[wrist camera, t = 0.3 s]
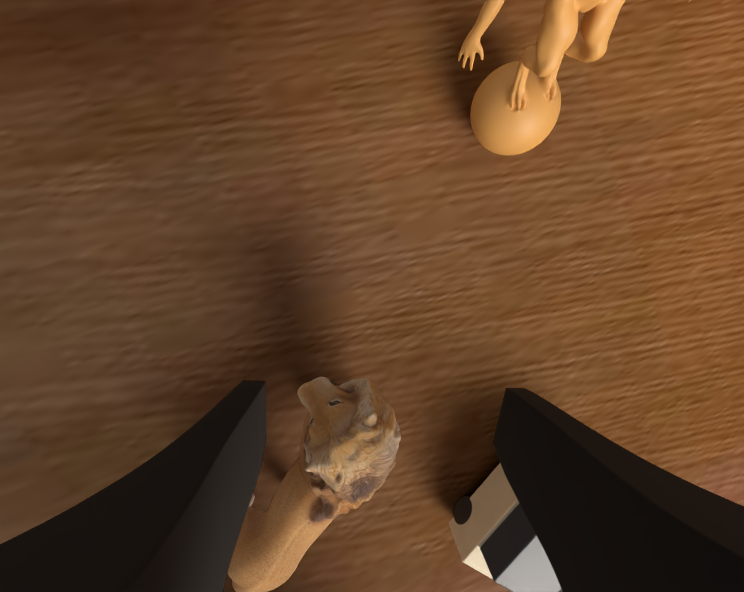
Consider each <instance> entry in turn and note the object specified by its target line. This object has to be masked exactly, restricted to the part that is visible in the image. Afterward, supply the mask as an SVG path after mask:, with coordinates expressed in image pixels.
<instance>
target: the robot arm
mask: <svg viewBox="0 0 744 592" xmlns="http://www.w3.org/2000/svg"><path fill="white" fill-rule="evenodd" d="M265 443H266V382H265V381H250V380H243V381H242V382H241V383H240V384H239V385H238V386H237V387H235V388H234V389H233V390H232V391H231V392H230V393H229V394H228V395H227V396H226V397H225V398H224V399H223V400H222V401H221V402H219V403H218V404H217V405H216V406H215V407H214V408H213V409H212V410H211V411H210V412H208V413H207V414H206V415H205V416H204V417H203V418H202V419H200V420H199V421H198V422H197V423H196V424H195V425H194V426H192V427H191V428H190V429H189V430H188V431H186V432H185V433H184V434H183V435H181V436H180V437H179V438H178V439H176V440H175V441H174V442H173V443H171V444H170V445H169V446H168V447H166V448H165V449H164V450H162V451H161V452H159V453H158V454H157V455H155V456H154V457H152V458H151V459H150V460H148V461H147V462H145V463H144V464H142V465H141V466H139V467H138V468H136V469H135V470H133V471H132V472H130V473H129V474H127V475H126V476H124V477H123V478H121V479H120V480H118V481H116V482H114V483H113V484H111V485H109V486H108V487H106V488H104V489H103V490H101V491H99V492H98V493H96V494H94V495H92V496H91V497H89V498H87V499H86V500H84V501H82V502H81V503H79V504H77V505H76V506H74V507H72V508H70V509H68V510H67V511H65V512H63V513H61V514H59V515H57V516H55V517H53V518H52V519H50V520H48V521H46V522H44V523H42V524H40V525H38V526H36V527H34V528H32V529H30V530H28V531H26V532H24V533H22V534H20V535H18V536H16V537H14V538H12V539H10V540H8V541H6V542H4V543H2V544H0V592H223V589H224V584H225V580H226V576H227V573H228V569H229V566H230V562H231V559H232V555H233V552H234V549H235V546H236V543H237V540H238V537H239V534H240V531H241V528H242V525H243V522H244V519H245V516H246V513H247V510H248V507H249V504H250V501H251V498H252V494H253V491H254V488H255V485H256V482H257V479H258V476H259V472H260V467H261V463H262V458H263V453H264V448H265ZM493 444H494V447H495V449H496V452H497V455H498V458H499V461H500V463H501V466H502V469H503V471H504V474H505V476H506V478H507V480H508V482H509V484H510V486H511V488H512V490H513V492H514V494H515V496H516V498H517V499H518V501H519V503H520V505H521V507H522V509H523V511H524V513H525V515H526V517H527V518H528V520H529V522H530V524H531V526H532V528H533V530H534V532H535V534H536V536H537V538H538V539H539V541H540V543H541V545H542V547H543V549H544V551H545V553H546V555H547V557H548V559H549V561H550V563H551V565H552V568H553V570H554V572H555V575H556V577H557V579H558V582H559V584H560V587H561V589H562V591H563V592H744V506H741V505H739V504H737V503H734V502H732V501H730V500H728V499H725V498H723V497H721V496H718V495H716V494H714V493H712V492H709V491H707V490H705V489H703V488H700V487H698V486H696V485H694V484H692V483H690V482H688V481H685V480H683V479H681V478H679V477H677V476H675V475H673V474H671V473H669V472H667V471H665V470H663V469H661V468H659V467H657V466H656V465H654V464H652V463H650V462H648V461H646V460H644V459H642V458H640V457H639V456H637V455H635V454H633V453H631V452H630V451H628V450H626V449H624V448H623V447H621V446H619V445H617V444H616V443H614V442H612V441H611V440H609V439H607V438H606V437H604V436H602V435H601V434H599V433H597V432H596V431H594V430H592V429H591V428H589V427H588V426H586V425H584V424H583V423H581V422H580V421H578V420H576V419H575V418H573V417H572V416H570V415H569V414H567V413H565V412H564V411H562V410H561V409H559V408H558V407H556V406H554V405H553V404H551V403H550V402H548V401H546V400H545V399H543V398H541V397H540V396H538V395H536V394H535V393H533V392H531V391H529V390H527V389H525V388H506V390H505V395H504V399H503V403H502V407H501V411H500V415H499V419H498V424H497V428H496V432H495V436H494V440H493Z"/></svg>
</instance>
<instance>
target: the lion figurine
mask: <svg viewBox="0 0 744 592" xmlns="http://www.w3.org/2000/svg"><path fill="white" fill-rule="evenodd" d="M298 396H299V398H300V401H301V402H302V404H303V405H304V406H305V407H306V408H307V410H308V411H309V413H308V414H307V416H306V419H305V421H304V425H303V436H302V440H301V447H300V457H299V458H298V459H297V460H296V461H295V463H294V464H293V465H292V467H291V468H290V469H289V471H288V473H287V474H286V476H285V477H284V479H283V480H282V482H281V484H280V485H279V487H278V488H277V490H276V492H275V494H274V496H273V499H272V501H271V504H270V507H269V508H268V510H267V511H266V512H261V511H259V510H257V509H255V508H253V507H250V506H251V505H252V503H253V501H254V497H255V495H254V494H252V498H251V501H250V504H249V507H248V510H247V513H246V516H245V519H244V522H243V525H242V528H241V531H240V534H239V537H238V540H237V543H236V546H235V549H234V552H233V555H232V559H231V562H230V566H229V569H228V575H229V577H230V578H231V579H232V586H233V588H234V590H235V591H236V592H268V591H270V590H273V589H275V588H277V587H279V586H280V585H282V584H283V583H284V582H286V581H287V580H288V579H289V578H290V576H291V575H292V574H293V572H294V571H295V569H296V567H297V565H298V563H299V562H300V560H301V558H302V557H303V555H304V554H305V552H306V551H307V549H308V548H309V547H310V546H311V545H312V543H313V542H314V541H315V540H316V539H317V538H318V536H319V535H320V534H321V533H322V532H323V531H324V529H325V528H326V527H327V526H328V525H329V524H330V523H331V521H332V520H333V519H335V518H337V517H338V515H339V514H347V513H348V512H349V510H350V509H351V508H352V509H356V508H358V507H359V506H360V505H361V504H362V502H363V501H369V500H370V499H371V497H372V495H373V494H374V492H375V491H376V490H378V489H379V488H380V487H381V486H382V484H383V483H384V482H385V480H386V477H387V476H388V475H389V473H390V471H391V470H392V469H393V467H394V466H395V463H396V461H395V458H396V452H397V451H398V448H399V442H400V440H401V435H400V433H399V425H398V423H397V422H396V419H395V413H394V409H393V407H392V406H391V404H390V403H389V402H388V401H387V400H386V399H385V398H384V396H383V395H382V394H381V392H380V391H379V390H378V389H377V388H376V386H375V384H374V383H373V382H371V381H370V380H369V379H367V378H359V379H357V380H355V379H352V380H351V381H349V382H346V383H344V384H341V385H340V386H338V385H337V384H336V383H334V382H333V381H331V380H330V379H328V378H326V377H318V378H316V379H314V380H312V381H309V382H306V383H304V384H303V385H302V386H300V387H299V389H298Z"/></svg>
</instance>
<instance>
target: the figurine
mask: <svg viewBox="0 0 744 592" xmlns="http://www.w3.org/2000/svg"><path fill="white" fill-rule="evenodd" d="M504 1H505V0H486V1H485V3H484V5H483V7H482V9H481V11H480V14H479V17H478V19H477V21H476V23H475V25H474V27H473V28H472V30H471V31H470V32H469V34H468V35H467V37H466V39H465V40H464V42H463V44H462V47H461V50H460V53H459V57H458V61H460V59H461V56H462V55H463V54H464V58H463V62H462V67H463V68H464V67H465V64H466V61H467V58H468V57H469V58H470V70H472V68H473V62H474V58H475V54H476V52H478V53H479V54H480V58H481V60H483V57H484V53H483V48H482V46H481V43H480V38H481V36H482V35H483V33H484V32H485V30H486V29H487V28H488V26H489V25H490V24H491V22H492V21H493V20H494V18H495V17H496V15H497V13H498V12H499V10H500V8H501V7H502V5H503V3H504ZM689 1H691V0H688V2H689ZM624 2H625V0H546V1H545V5H544V15H543V19H542V23H541V27H540V31H539V34H538V38H537V43H536V46H529V47H528V48H526V50H525V51H524V53H523V55H522V56H521V58H520V61H514V62H510V63H507V64H505V65H503V66H501V67H499V68H497V69H496V70H494V71H493V72H492V73H490V74H489V75H488V76H487V77H486V78H485V79H484V81H483V82H482V83H481V85H480V86H479V88H478V89H477V91H476V93H475V95H474V98H473V101H472V105H471V112H470V120H471V126H472V130H473V132H474V135H475V137H476V138H477V140H478V141H479V142H480V143H481V145H482V146H484V147H485V148H486V149H488V150H489V151H491V152H493V153H496V154H500V155H517V154H521V153H524V152H526V151H529V150H531V149H532V148H534V147H536V146H537V145H538V144H540V143H541V142H542V141H543V140H544V139H545V138H546V137H547V136H548V134H549V133H550V132H551V130H552V129H553V127H554V125H555V123H556V121H557V119H558V116H559V112H560V107H561V94H560V89H559V85H558V83H557V81H556V75H557V72H558V69H559V66H560V64H561V61H562V58H563V56H564V53H565V54H566V55H568V56H570V57H573V58H576V59H578V60H580V61H583V62H593V61H596V60H598V59H600V58H601V57H602V56H603V55H604V54H605V52H606V49H607V43H608V39H609V37H610V34H611V32H612V29H613V26H614V24H615V21H616V19H617V16H618V13H619V11H620V8H621V6H622V5H623V3H624ZM578 11H580V12H585V14H584V17H583V19H582V22H581V26H580V31H581V34H579V33H577V29H578Z"/></svg>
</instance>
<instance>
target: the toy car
mask: <svg viewBox="0 0 744 592" xmlns="http://www.w3.org/2000/svg"><path fill="white" fill-rule="evenodd" d="M449 526H450V529H451V532H452V535H453V537H454V540H455V543H456V546H457V548H458V551H459V554H460V557H461V560H462V562H463V563H465V564H467V565H469V566H470V567H472V568H474V569H476V570H477V571H479V572H481V573H483V574H484V575H486V576H488V577H490V578H491V579H493V580H494V581H495V582H496V583H498V584H500V585H501V586H503V587H505V588H507V589H508V590H510V591H512V592H559V591H560V590H561V587H560V584H559V582H558V579H557V577H556V575H555V572H554V570H553V568H552V565H551V563H550V561H549V559H548V557H547V555H546V553H545V551H544V549H543V547H542V545H541V543H540V541H539V539H538V538H537V536H536V534H535V532H534V530H533V528H532V526H531V524H530V522H529V520H528V518H527V517H526V515H525V513H524V511H523V509H522V507H521V505H520V503H519V501H518V499H517V498H516V496H515V494H514V492H513V490H512V488H511V486H510V484H509V482H508V480H507V478H506V476H505V474H504V471H503V469H502V466H501V463H499V465H498V466H497V467H496V468H495V469H494V470H493V472H492V473H491V474H490V475H489V476H488V477H487V478H486V480H485V481H484V482H483V483H482V484H481V485H480V487H479V488H478V489H477V490H476V491H475V492H474V494H473V495H472V496H471V497H468V496H464V497H462V498H460V499H459V500H458V502H457V503H456V505H455V508H454V513H453V518H452V519H451V520H450V521H449Z"/></svg>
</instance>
